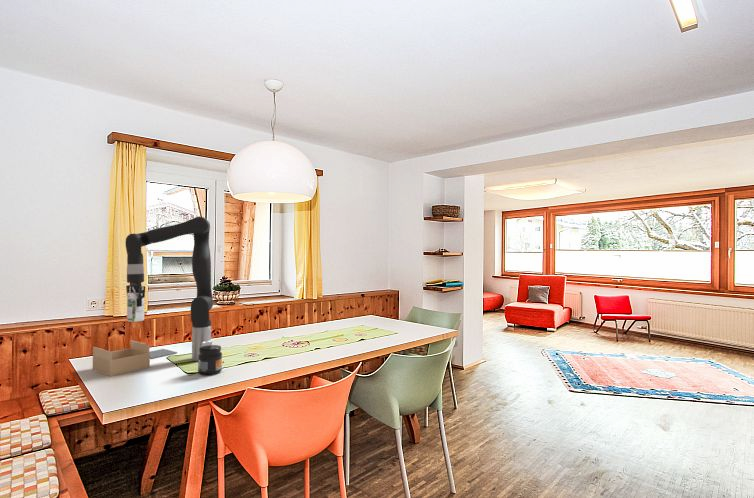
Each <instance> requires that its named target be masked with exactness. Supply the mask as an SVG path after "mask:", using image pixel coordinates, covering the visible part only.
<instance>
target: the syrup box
mask: <svg viewBox="0 0 754 498" xmlns="http://www.w3.org/2000/svg"><path fill="white" fill-rule="evenodd" d="M142 295H143V294H142ZM138 296H139V295H138ZM141 321H143V322H144V321H145V297H144V298H143V299H142V306H140V307H137V298H136V295H135V293H132V292H131V293H127V292H126V322H131V323H137V322H141Z"/></svg>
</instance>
